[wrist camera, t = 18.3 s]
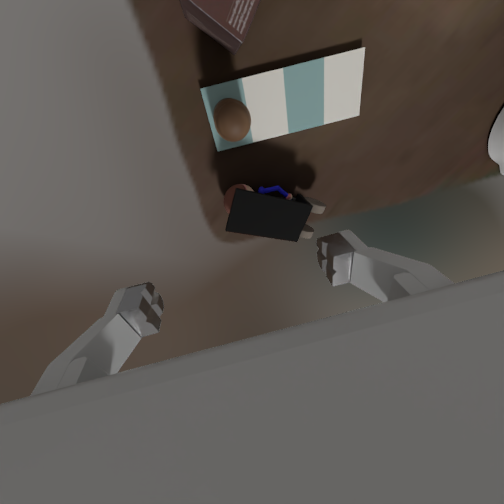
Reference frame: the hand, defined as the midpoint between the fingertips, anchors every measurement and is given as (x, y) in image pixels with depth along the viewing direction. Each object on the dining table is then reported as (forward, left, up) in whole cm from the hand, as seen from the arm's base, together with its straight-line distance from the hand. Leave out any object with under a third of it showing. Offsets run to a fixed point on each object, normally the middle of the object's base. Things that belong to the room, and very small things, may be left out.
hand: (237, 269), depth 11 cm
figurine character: (-6, +9, -25) cm, 28 cm away
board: (-10, -4, -25) cm, 27 cm away
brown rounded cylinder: (-3, -4, -24) cm, 25 cm away
